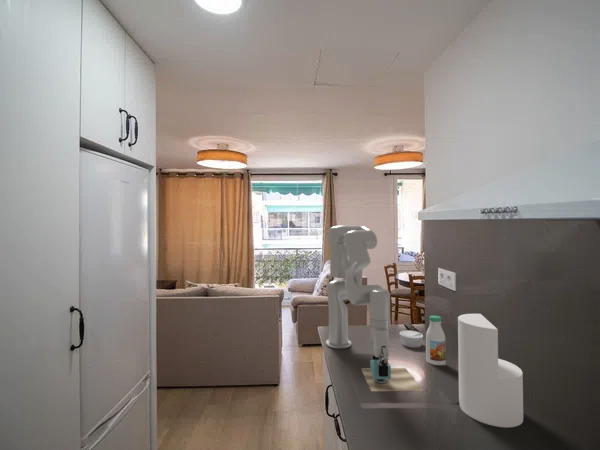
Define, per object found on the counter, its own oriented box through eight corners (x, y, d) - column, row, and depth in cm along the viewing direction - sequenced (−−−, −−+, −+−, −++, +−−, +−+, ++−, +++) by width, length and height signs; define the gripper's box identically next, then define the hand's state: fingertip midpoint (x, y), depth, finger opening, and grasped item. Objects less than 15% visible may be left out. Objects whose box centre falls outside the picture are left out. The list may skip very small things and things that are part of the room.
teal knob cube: (370, 371, 119) (370, 358, 119) (386, 371, 119) (386, 358, 119) (374, 379, 113) (374, 365, 113) (390, 379, 113) (390, 365, 113)
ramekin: (424, 350, 149) (424, 338, 149) (399, 347, 153) (399, 336, 153) (422, 341, 160) (422, 331, 160) (399, 339, 163) (399, 329, 163)
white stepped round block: (466, 422, 93) (464, 327, 94) (454, 392, 110) (453, 312, 110) (533, 431, 89) (532, 331, 89) (510, 399, 105) (509, 315, 106)
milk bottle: (423, 364, 133) (422, 316, 133) (430, 358, 139) (429, 313, 139) (442, 369, 128) (441, 320, 128) (448, 363, 134) (447, 316, 134)
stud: (372, 378, 118) (372, 363, 118) (384, 378, 118) (384, 363, 118) (375, 384, 114) (375, 368, 114) (388, 384, 114) (387, 368, 114)
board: (360, 371, 127) (360, 368, 127) (405, 370, 127) (405, 367, 127) (371, 394, 109) (371, 391, 109) (423, 394, 109) (423, 390, 109)
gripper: (364, 316, 125) (364, 361, 125) (375, 330, 108) (376, 382, 107) (383, 316, 125) (383, 361, 125) (397, 330, 108) (398, 382, 107)
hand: (380, 370), depth 116 cm, fingers open, 7 cm apart
